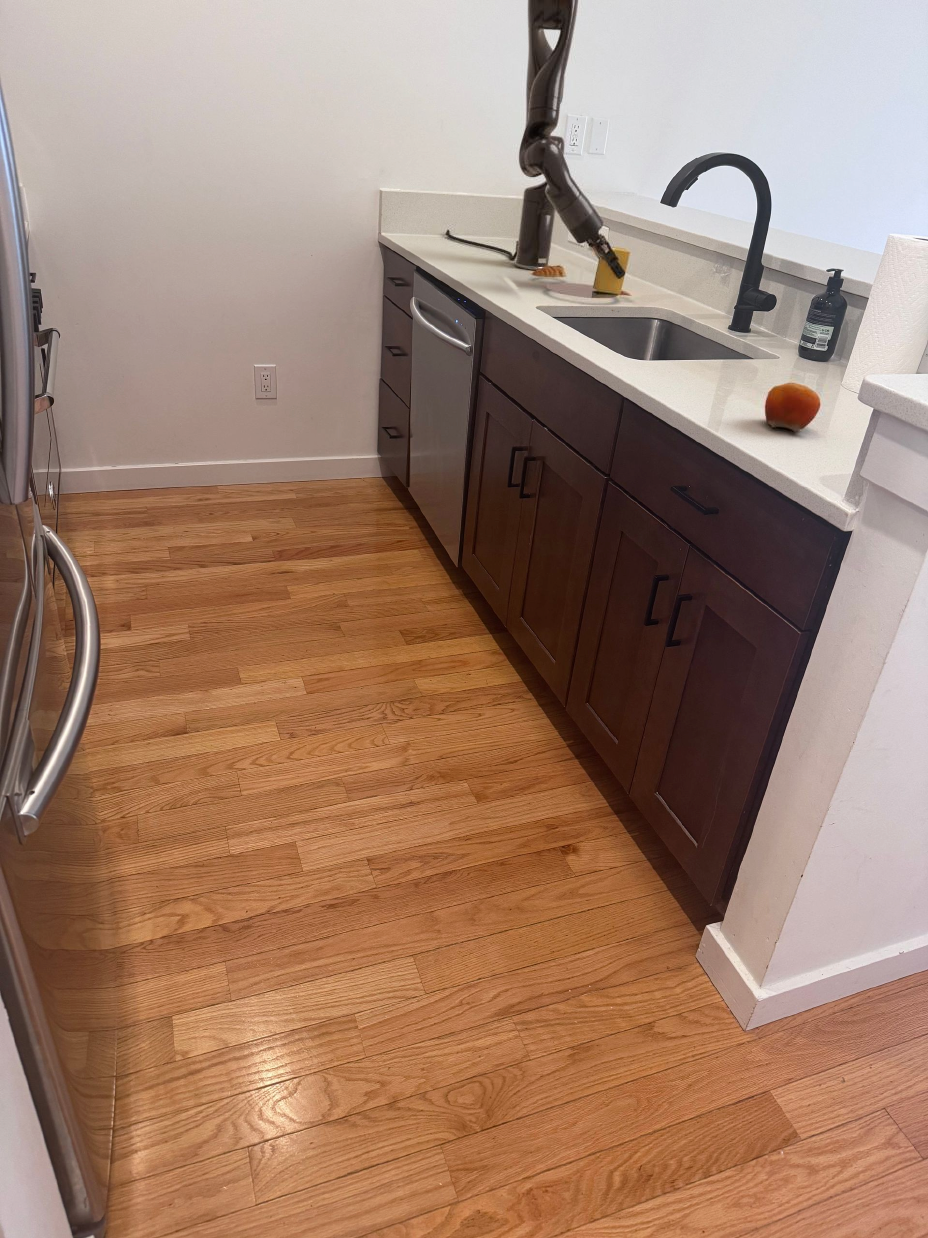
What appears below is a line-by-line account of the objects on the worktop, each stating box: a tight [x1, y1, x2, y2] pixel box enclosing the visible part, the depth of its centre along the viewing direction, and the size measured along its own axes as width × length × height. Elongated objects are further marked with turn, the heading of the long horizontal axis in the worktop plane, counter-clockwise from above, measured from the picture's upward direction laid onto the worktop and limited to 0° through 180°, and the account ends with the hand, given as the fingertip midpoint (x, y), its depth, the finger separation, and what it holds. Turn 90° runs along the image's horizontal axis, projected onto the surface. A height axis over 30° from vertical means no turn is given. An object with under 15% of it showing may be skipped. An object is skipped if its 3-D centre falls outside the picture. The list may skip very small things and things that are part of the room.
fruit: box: [764, 382, 821, 436], centre depth 136 cm, size 8×8×8 cm
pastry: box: [532, 264, 567, 278], centre depth 233 cm, size 9×7×4 cm
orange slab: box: [620, 289, 632, 297], centre depth 219 cm, size 4×3×2 cm
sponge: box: [592, 246, 631, 296], centre depth 216 cm, size 4×6×10 cm
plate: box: [545, 282, 619, 299], centre depth 218 cm, size 18×18×2 cm
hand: (619, 274), depth 217 cm, fingers closed on sponge, 4 cm apart
